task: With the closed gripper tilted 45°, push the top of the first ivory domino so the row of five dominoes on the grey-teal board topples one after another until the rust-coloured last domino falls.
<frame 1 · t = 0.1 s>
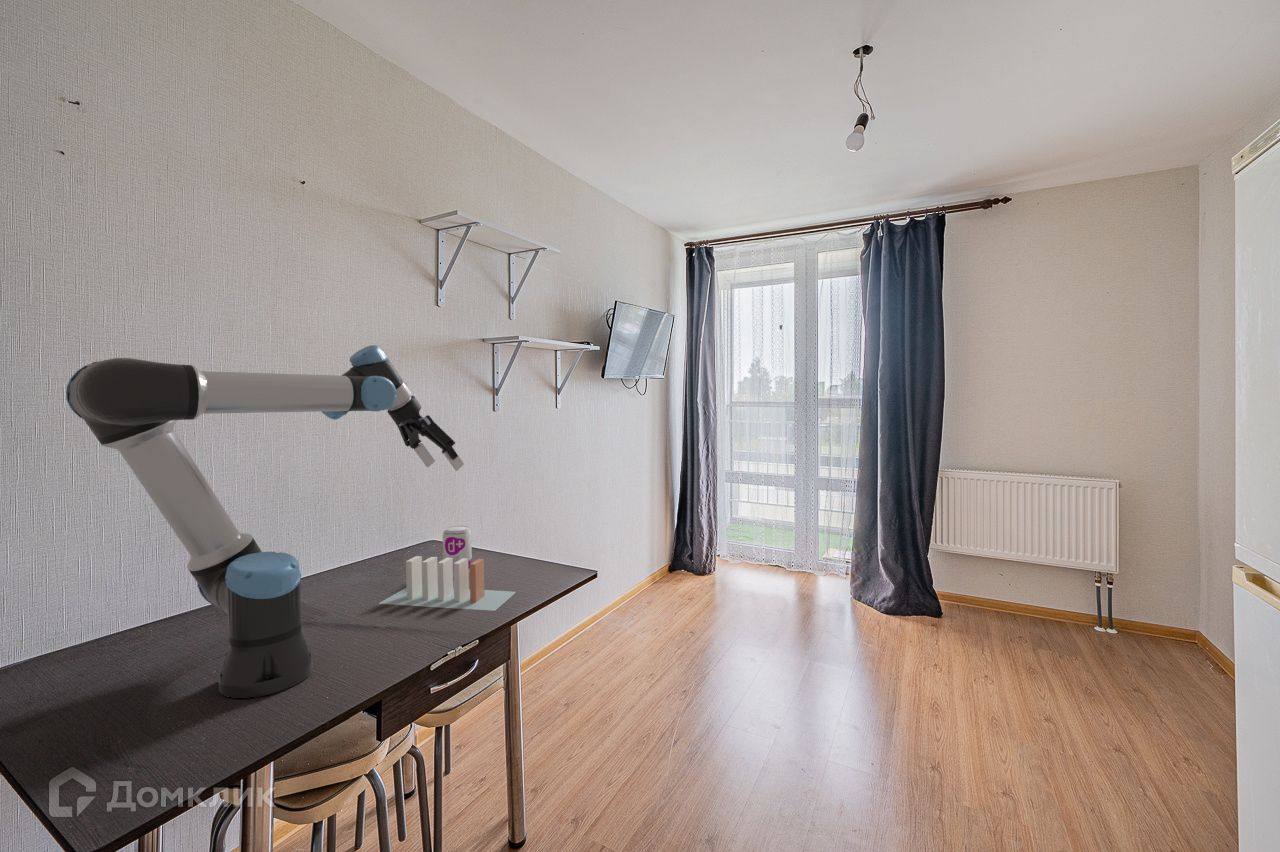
hand: (445, 465, 152), 36 cm above the table, tool tilted 35°, fingers open, 13 cm apart
domino 1: (414, 595, 151), point 1 cm above the table, touching domino board
domino 3: (445, 597, 149), point 1 cm above the table, touching domino board
supplement can: (458, 577, 170), on the table
domino 4: (461, 598, 148), point 1 cm above the table, touching domino board
domino 5: (477, 599, 148), point 1 cm above the table, touching domino board
domino board: (449, 601, 149), on the table
domino 2: (430, 596, 150), point 1 cm above the table, touching domino board
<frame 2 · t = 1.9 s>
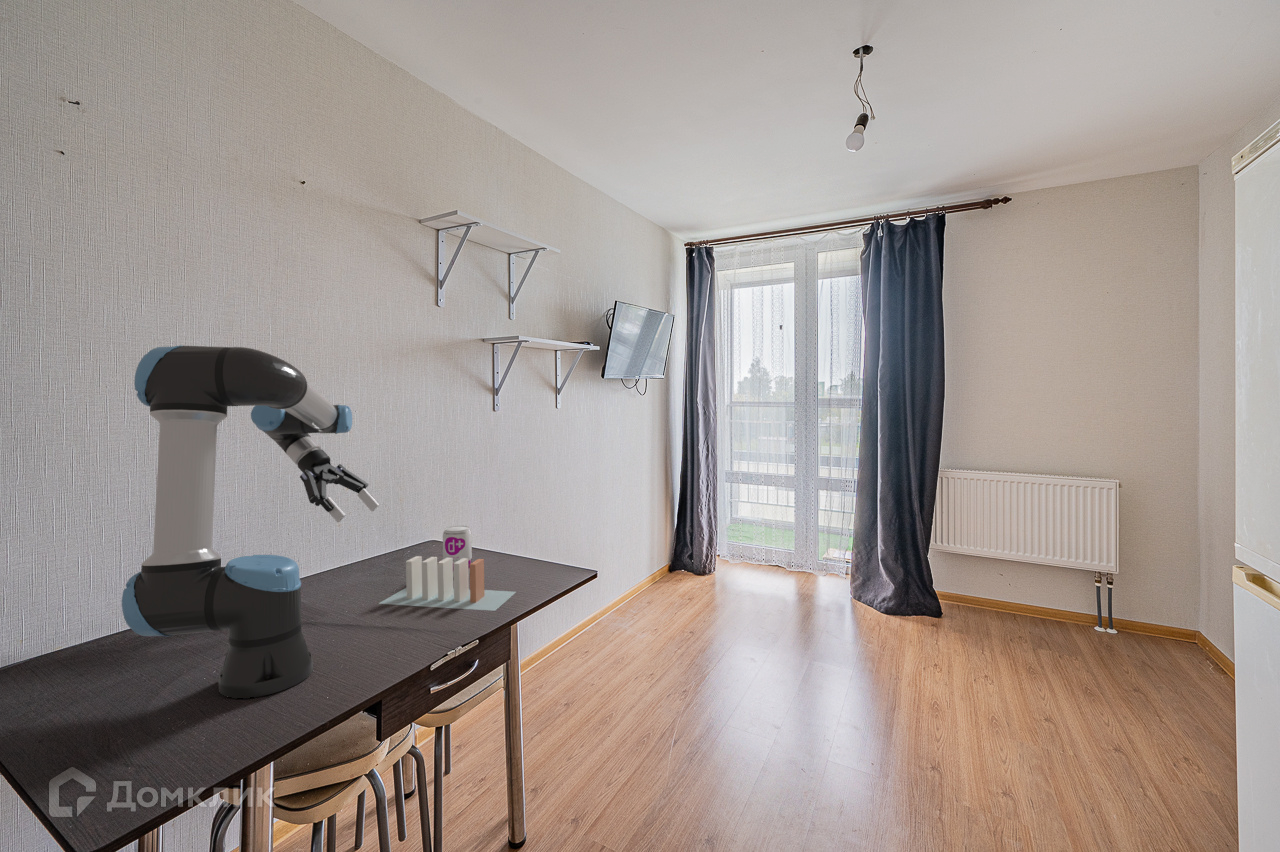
hand: (359, 513, 152), 23 cm above the table, tool tilted 45°, fingers open, 13 cm apart
nothing on the table moved.
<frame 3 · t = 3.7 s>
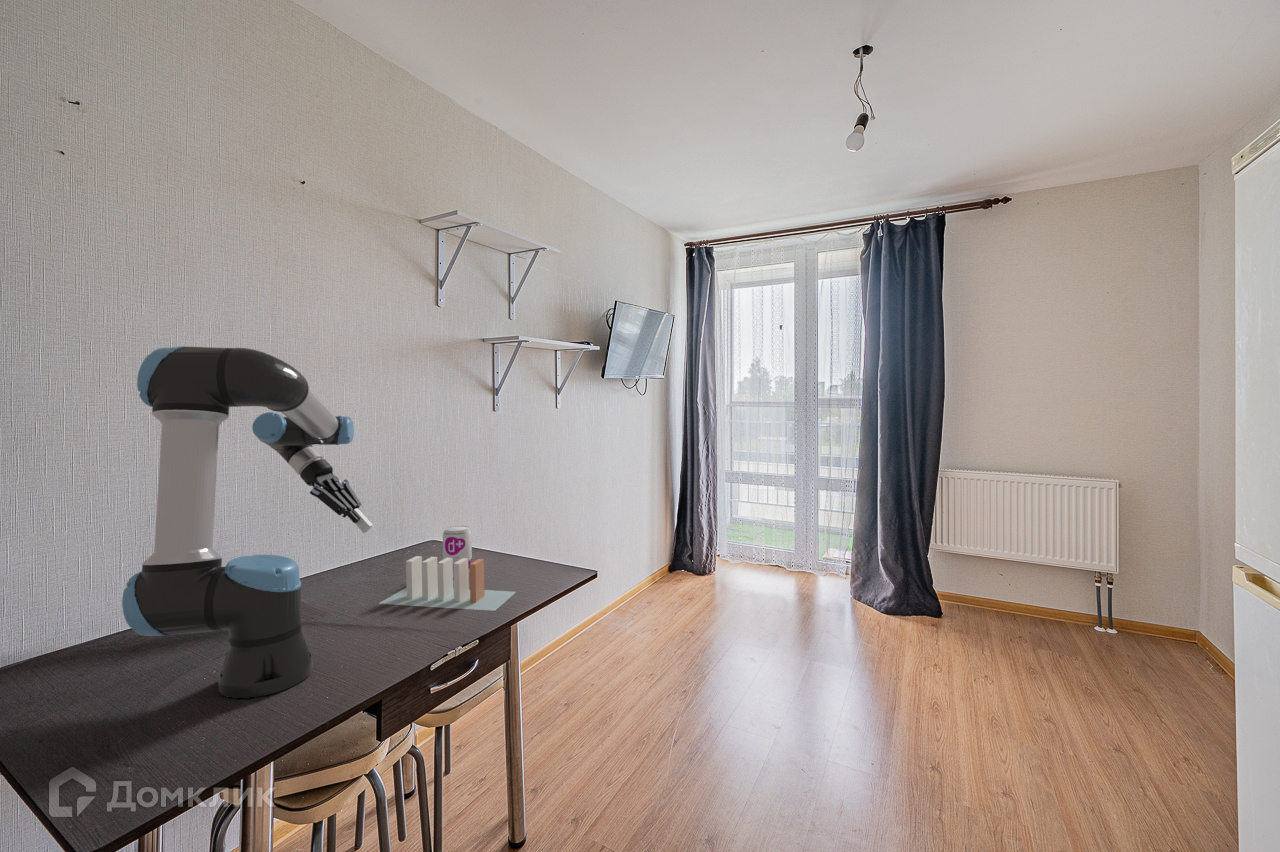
hand: (368, 529, 153), 19 cm above the table, tool tilted 45°, fingers closed
nothing on the table moved.
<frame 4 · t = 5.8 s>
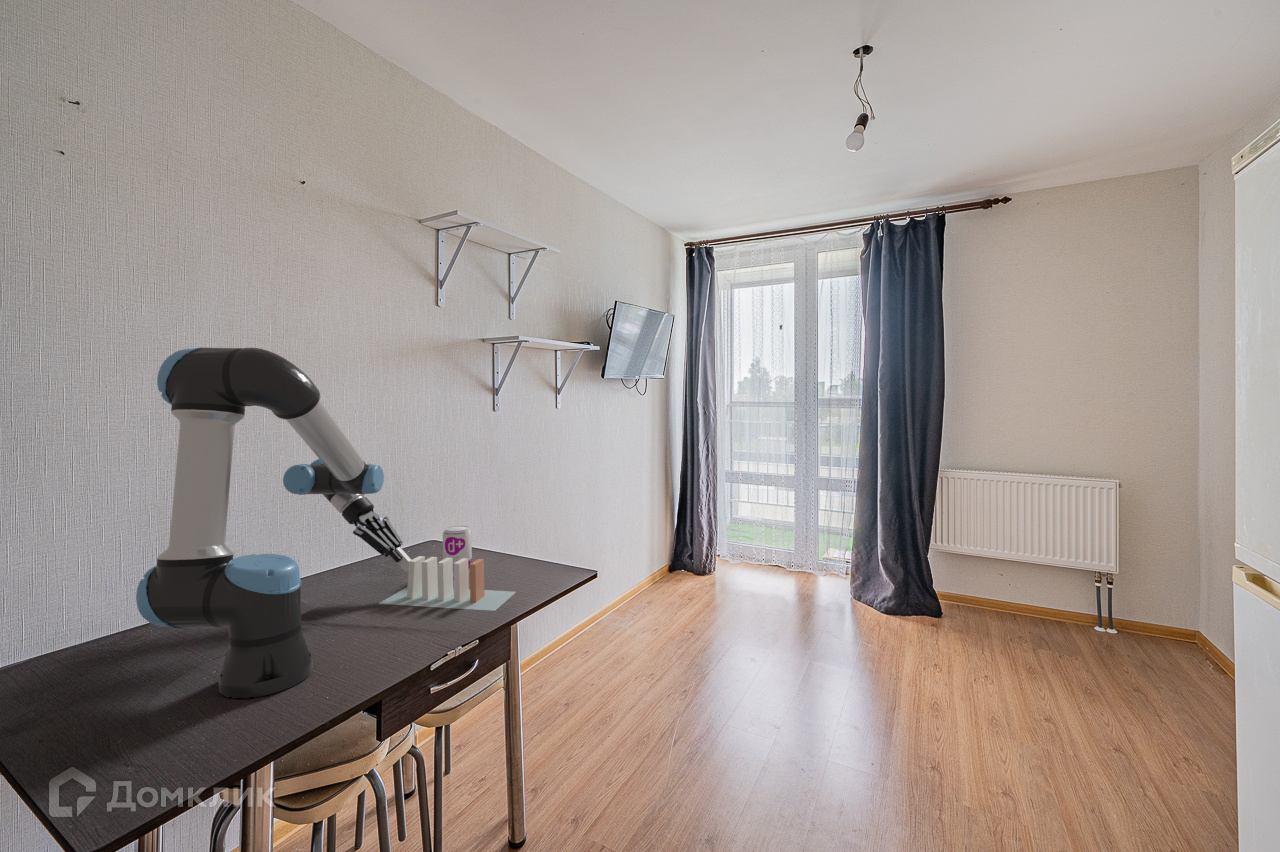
hand: (410, 568, 151), 8 cm above the table, tool tilted 45°, fingers closed
domino 1: (414, 595, 151), point 1 cm above the table, tilted 5°, touching domino board
everything else where it was.
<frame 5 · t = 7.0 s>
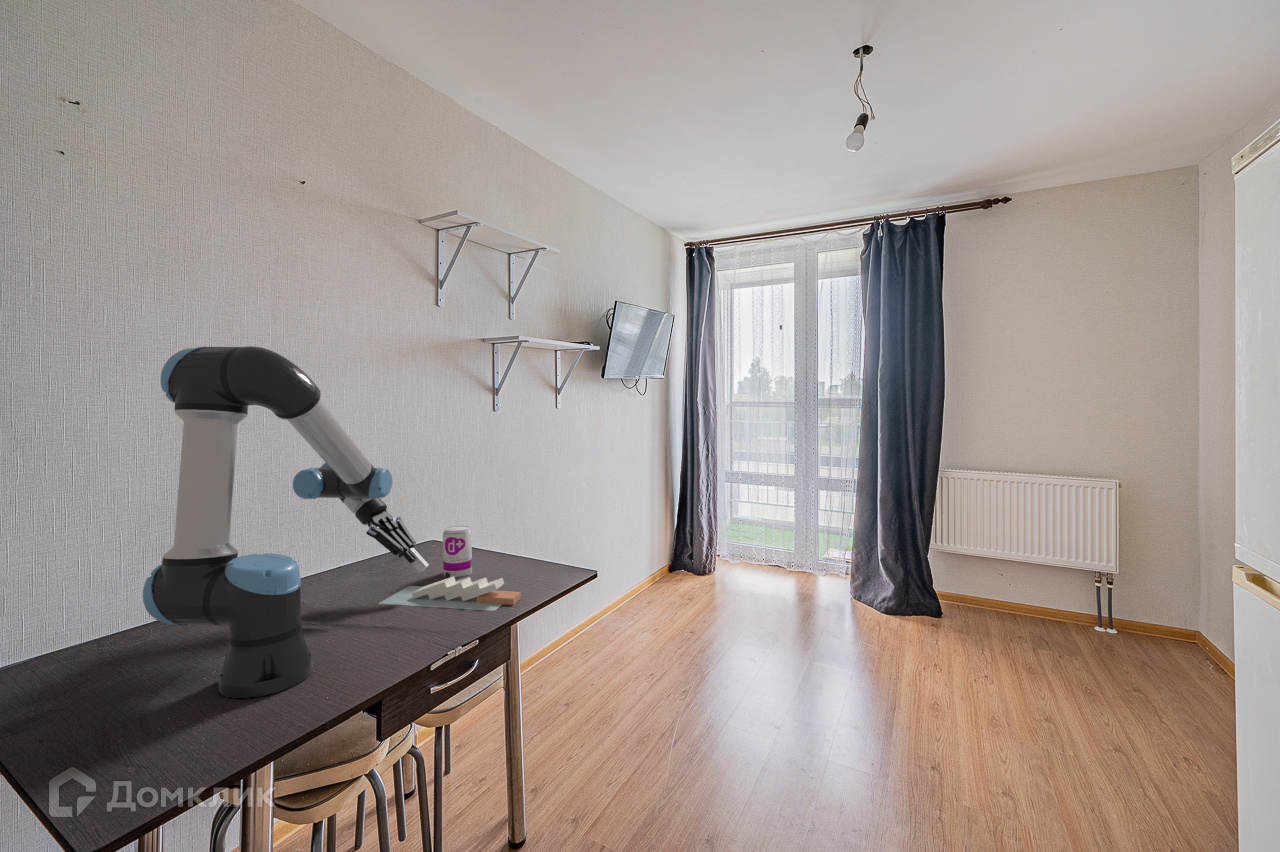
hand: (424, 569, 150), 9 cm above the table, tool tilted 45°, fingers closed
domino 1: (418, 592, 150), point 2 cm above the table, tilted 69°, touching domino 2, domino board
domino 3: (450, 594, 149), point 2 cm above the table, tilted 69°, touching domino 2, domino 4, domino board
domino 4: (466, 595, 148), point 2 cm above the table, tilted 69°, touching domino 3, domino 5
domino 5: (481, 596, 147), point 2 cm above the table, tilted 90°, touching domino 4, domino board
domino 2: (434, 593, 150), point 2 cm above the table, tilted 69°, touching domino 1, domino 3, domino board
everything else where it was.
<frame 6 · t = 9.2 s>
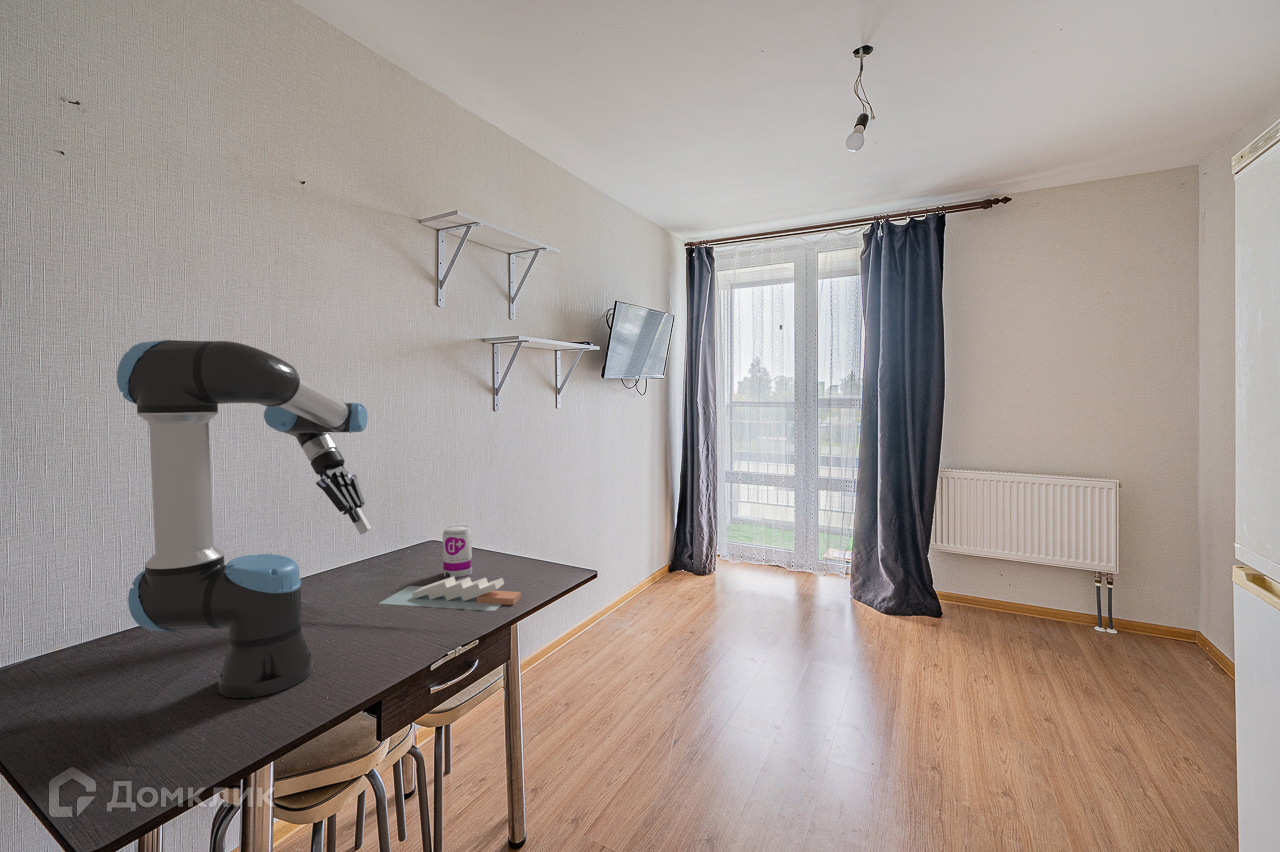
hand: (365, 531, 148), 19 cm above the table, tool tilted 35°, fingers closed
nothing on the table moved.
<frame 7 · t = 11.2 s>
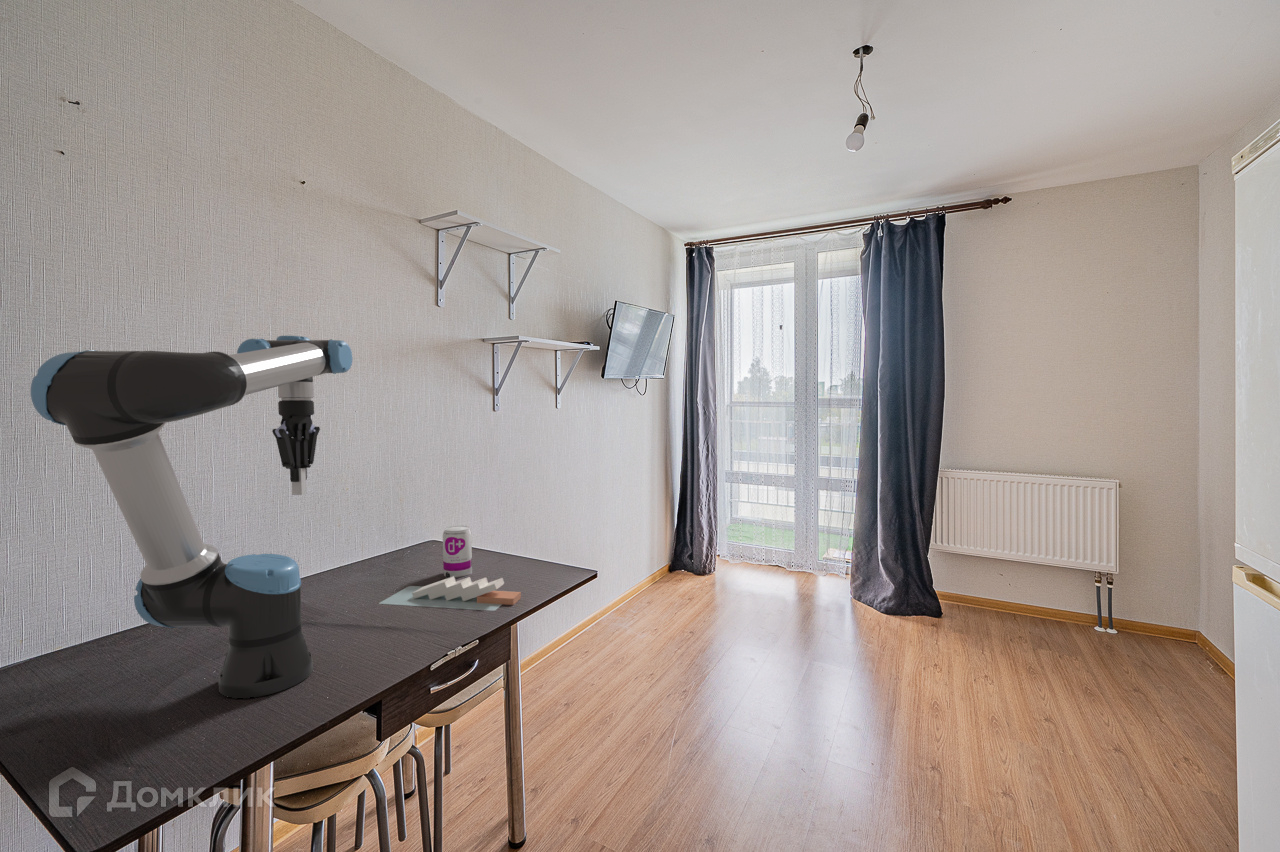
hand: (299, 494, 139), 30 cm above the table, tool pointing down, fingers closed
nothing on the table moved.
at the end: domino 5 tilted 90°; domino 1 tilted 69°; supplement can moved 0.2 cm from its start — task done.
